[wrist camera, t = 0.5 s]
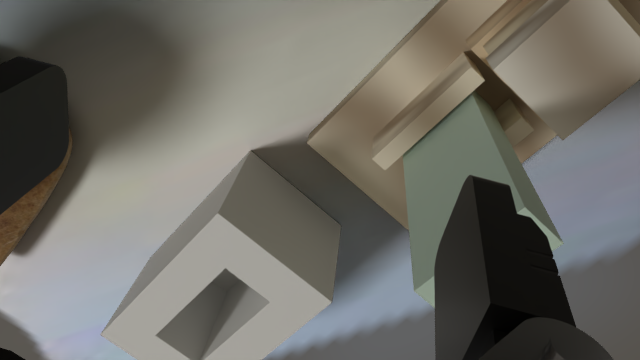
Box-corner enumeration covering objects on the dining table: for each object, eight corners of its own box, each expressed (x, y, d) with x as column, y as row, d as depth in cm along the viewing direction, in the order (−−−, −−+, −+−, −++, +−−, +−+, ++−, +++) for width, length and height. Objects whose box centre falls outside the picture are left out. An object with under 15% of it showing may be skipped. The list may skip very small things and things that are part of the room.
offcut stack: (533, 108, 31) (564, 152, 26) (465, 40, 30) (484, 71, 24) (627, 29, 28) (684, 59, 23) (558, -50, 27) (602, -37, 22)
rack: (420, 230, 37) (425, 270, 33) (309, 133, 34) (300, 164, 30) (666, 31, 30) (710, 51, 26) (546, -109, 27) (575, -110, 23)
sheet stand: (235, 320, 42) (205, 405, 35) (149, 258, 40) (100, 334, 33) (341, 225, 37) (332, 302, 30) (250, 150, 35) (217, 213, 28)
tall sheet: (424, 163, 33) (451, 322, 21) (401, 141, 33) (414, 291, 20) (490, 105, 31) (563, 243, 19) (466, 82, 31) (524, 207, 18)
